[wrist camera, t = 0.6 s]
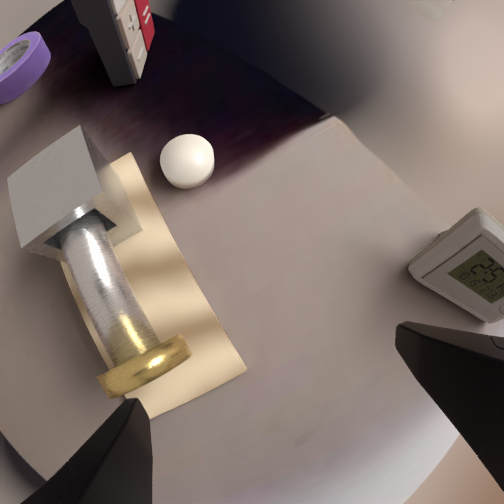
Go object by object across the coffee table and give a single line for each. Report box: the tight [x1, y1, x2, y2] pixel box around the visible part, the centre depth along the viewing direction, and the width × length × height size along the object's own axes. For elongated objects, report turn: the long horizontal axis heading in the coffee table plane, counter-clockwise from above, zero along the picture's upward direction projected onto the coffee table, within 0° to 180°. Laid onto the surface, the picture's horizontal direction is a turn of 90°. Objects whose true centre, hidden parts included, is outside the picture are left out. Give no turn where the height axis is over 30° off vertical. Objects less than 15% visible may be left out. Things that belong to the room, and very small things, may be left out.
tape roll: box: [0, 32, 51, 104], centre depth 26 cm, size 12×12×5 cm
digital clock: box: [408, 208, 504, 323], centre depth 23 cm, size 16×9×11 cm, turn 53°
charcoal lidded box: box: [71, 0, 155, 87], centre depth 22 cm, size 11×4×15 cm, turn 1°
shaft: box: [57, 208, 193, 399], centre depth 18 cm, size 18×7×7 cm, turn 30°
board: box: [60, 152, 247, 419], centre depth 25 cm, size 23×11×1 cm, turn 30°
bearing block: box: [7, 125, 143, 263], centre depth 20 cm, size 6×7×9 cm
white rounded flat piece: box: [160, 134, 214, 189], centre depth 27 cm, size 5×5×2 cm
